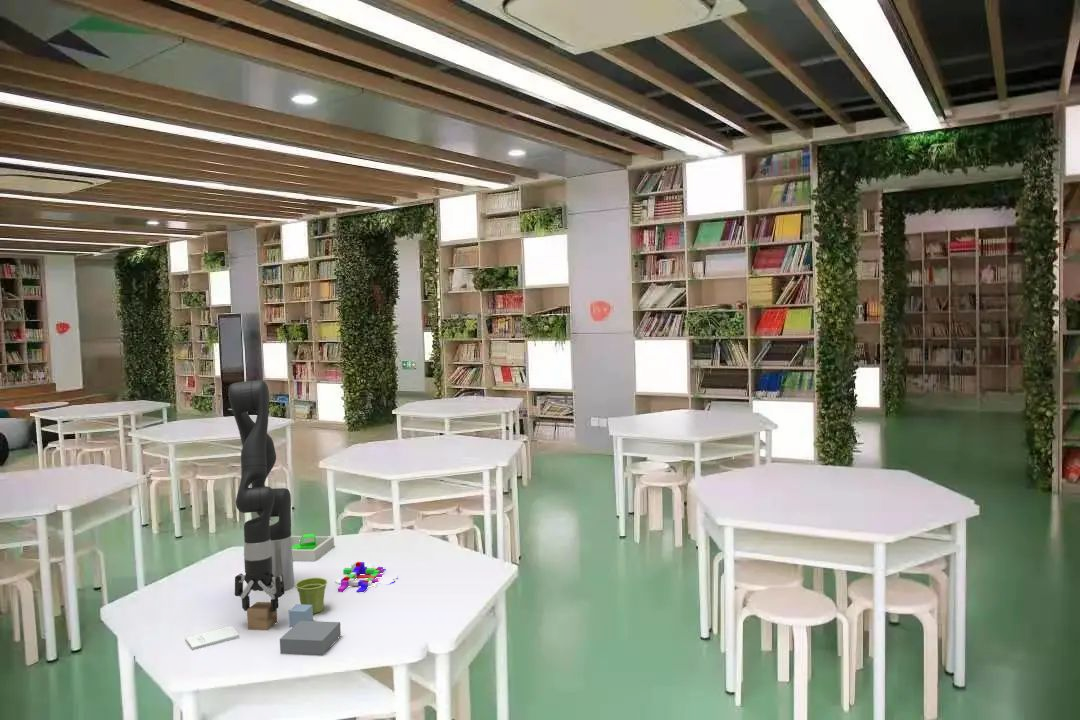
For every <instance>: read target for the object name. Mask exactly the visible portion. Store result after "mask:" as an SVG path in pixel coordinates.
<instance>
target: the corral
mask: <svg viewBox="0 0 1080 720" xmlns="http://www.w3.org/2000/svg"><path fill="white" fill-rule="evenodd" d="M301 538H302V541H303V537H302V535H291V541H292V546H293V545H297V544H300V541H301ZM315 538H316V543H317V547H316V548H314V549H313V550H305V549H292V556H293V562H316V561H318V559H321V558H322V556H324V555H326V554H327V553H328V552H330V550H332V549H333V548H334V547H335V537H334V536H328V535H327V536H324V535H321V536H319V535H315ZM299 540H300V541H299ZM302 541H301V544H302ZM309 542H315V540H314V537H311V538H304V541H303V543H309Z"/></svg>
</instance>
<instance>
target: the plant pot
mask: <svg viewBox="0 0 1080 720" xmlns="http://www.w3.org/2000/svg"><path fill="white" fill-rule="evenodd" d="M327 584H328V579H325V578H323V577H309V578H305V579H301V580H299V581H297V582H296V583H295V588H297V592H298V597H299V601H300V604H302V605H312V606H313V615H314V614H317V613H319V612H322V611H323V609H324V601H325V593H326V592H325V591H326V587H327Z"/></svg>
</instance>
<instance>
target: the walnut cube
mask: <svg viewBox="0 0 1080 720" xmlns="http://www.w3.org/2000/svg"><path fill="white" fill-rule="evenodd" d="M246 616H247V619H246V620H247V630H249V631H269V629H271V628H272V627H273V626H274V625H276V624H277V623H278V610H276V611H275V612H272V611H271V601H256V602H255V603H254V604H253V605H251V606H250V608H248V609H247V611H246ZM275 623H276V624H275Z"/></svg>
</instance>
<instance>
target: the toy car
mask: <svg viewBox="0 0 1080 720" xmlns="http://www.w3.org/2000/svg"><path fill="white" fill-rule="evenodd" d="M301 536H302V537H303V541H304V538H311V537H314V540H315V542H309V543H303V541H302V538H301V541H302V544H301V541H300V544H297V545H293V546H292V549H305V550H313V549H314V548H316V547H317V543H316V538H315V536H316V535H315V533H308V534H307V533H306V534H302V535H301Z"/></svg>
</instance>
